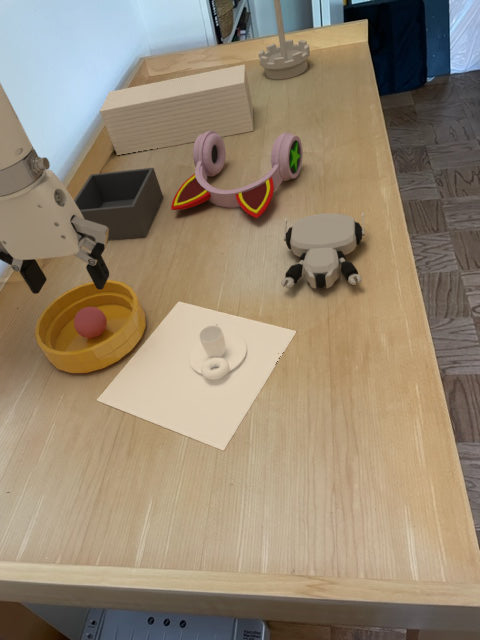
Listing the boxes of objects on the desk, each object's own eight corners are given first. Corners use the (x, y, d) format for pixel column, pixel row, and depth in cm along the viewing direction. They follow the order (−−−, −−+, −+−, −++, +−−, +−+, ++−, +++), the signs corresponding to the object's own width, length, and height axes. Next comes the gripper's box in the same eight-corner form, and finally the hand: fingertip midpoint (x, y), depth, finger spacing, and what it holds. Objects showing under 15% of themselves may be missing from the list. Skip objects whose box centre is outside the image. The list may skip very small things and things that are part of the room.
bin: (80, 242, 100) (65, 212, 95) (103, 203, 109) (90, 174, 104) (145, 237, 97) (133, 206, 92) (163, 197, 106) (153, 167, 101)
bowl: (32, 376, 76) (17, 355, 73) (71, 303, 87) (59, 282, 84) (129, 375, 73) (118, 353, 70) (158, 299, 83) (149, 277, 80)
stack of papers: (253, 111, 126) (244, 64, 119) (253, 131, 119) (244, 82, 111) (125, 135, 131) (109, 91, 124) (117, 156, 124) (99, 111, 116)
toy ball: (77, 345, 78) (63, 323, 75) (87, 322, 82) (75, 301, 78) (105, 344, 77) (93, 322, 74) (115, 321, 81) (104, 299, 77)
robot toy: (366, 298, 76) (364, 229, 85) (364, 275, 72) (363, 206, 82) (280, 301, 79) (288, 234, 88) (275, 280, 75) (284, 212, 85)
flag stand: (316, 72, 136) (302, -70, 115) (266, 85, 136) (243, -54, 116) (305, 56, 145) (290, -78, 125) (258, 68, 146) (236, -63, 125)
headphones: (301, 126, 98) (256, 170, 85) (305, 176, 104) (264, 225, 91) (209, 124, 107) (154, 165, 93) (217, 171, 113) (167, 216, 99)
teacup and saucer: (225, 389, 68) (218, 368, 65) (175, 372, 71) (166, 352, 69) (257, 341, 73) (252, 319, 70) (208, 327, 76) (201, 307, 74)
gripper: (87, 147, 62) (137, 263, 73) (-38, 165, 66) (28, 271, 78) (63, 181, 56) (121, 300, 68) (-72, 198, 61) (4, 307, 72)
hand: (71, 284), depth 73 cm, fingers open, 9 cm apart
